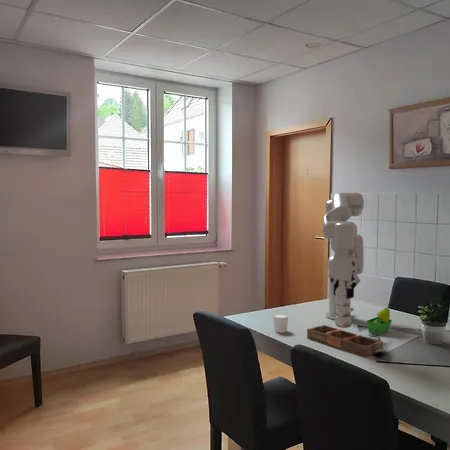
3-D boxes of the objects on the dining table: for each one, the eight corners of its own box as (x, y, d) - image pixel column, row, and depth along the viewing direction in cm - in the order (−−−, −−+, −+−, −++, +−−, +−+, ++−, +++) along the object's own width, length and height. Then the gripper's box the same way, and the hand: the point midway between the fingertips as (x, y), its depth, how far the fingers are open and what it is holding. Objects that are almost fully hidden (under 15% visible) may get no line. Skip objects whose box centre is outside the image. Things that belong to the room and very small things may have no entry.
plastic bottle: (348, 330, 185) (349, 281, 184) (332, 328, 189) (333, 279, 187) (353, 326, 190) (354, 278, 189) (337, 324, 194) (338, 277, 193)
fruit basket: (376, 327, 215) (377, 303, 215) (395, 331, 209) (395, 306, 208) (364, 332, 207) (365, 307, 207) (383, 336, 201) (383, 311, 200)
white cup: (271, 329, 213) (271, 314, 213) (286, 328, 214) (286, 313, 213) (274, 333, 206) (274, 318, 206) (289, 333, 207) (289, 317, 206)
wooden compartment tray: (323, 333, 205) (323, 323, 205) (382, 351, 181) (382, 340, 181) (306, 338, 199) (306, 328, 199) (364, 357, 174) (365, 346, 174)
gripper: (367, 254, 183) (366, 298, 184) (333, 250, 197) (333, 291, 198) (355, 255, 179) (354, 301, 180) (321, 251, 193) (321, 294, 193)
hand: (343, 295), depth 189 cm, fingers closed on plastic bottle, 6 cm apart
